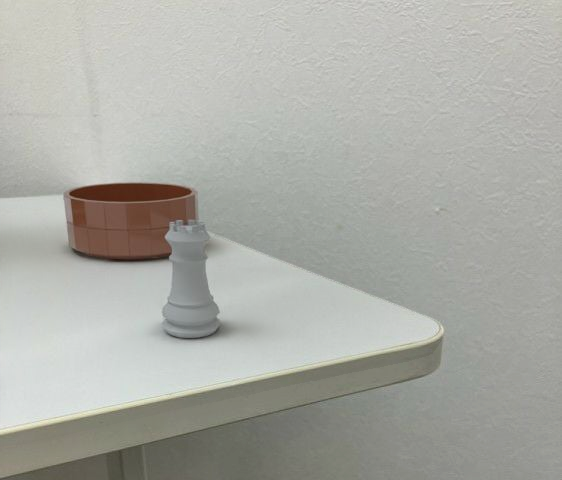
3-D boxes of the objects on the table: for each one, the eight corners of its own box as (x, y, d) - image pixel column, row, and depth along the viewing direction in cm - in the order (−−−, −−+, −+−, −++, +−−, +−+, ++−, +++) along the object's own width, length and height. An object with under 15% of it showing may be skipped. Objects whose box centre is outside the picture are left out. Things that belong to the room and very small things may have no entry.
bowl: (42, 254, 70) (34, 196, 68) (115, 228, 83) (111, 179, 80) (160, 267, 66) (156, 206, 64) (219, 239, 78) (217, 187, 76)
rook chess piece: (230, 323, 51) (228, 220, 48) (205, 343, 48) (201, 231, 44) (179, 316, 53) (174, 215, 49) (150, 334, 49) (143, 226, 46)
